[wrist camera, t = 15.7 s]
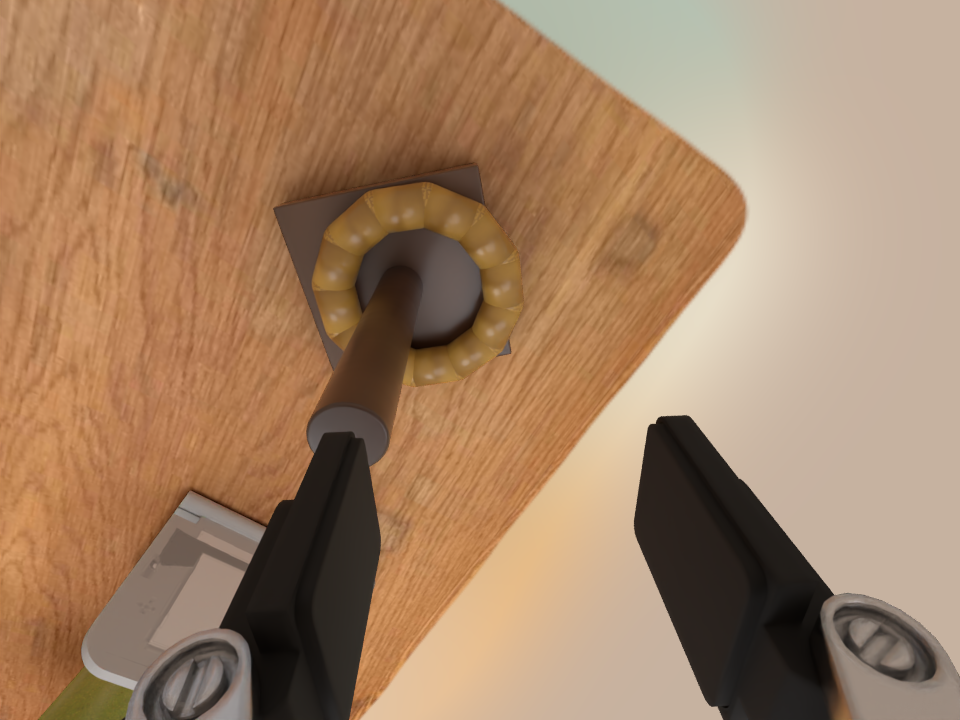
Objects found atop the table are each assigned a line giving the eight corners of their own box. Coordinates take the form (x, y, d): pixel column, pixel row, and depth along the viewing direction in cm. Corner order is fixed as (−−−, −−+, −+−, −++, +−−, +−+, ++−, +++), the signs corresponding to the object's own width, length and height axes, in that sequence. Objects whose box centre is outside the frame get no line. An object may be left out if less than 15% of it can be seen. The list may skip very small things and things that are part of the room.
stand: (476, 162, 22) (498, 213, 9) (509, 342, 25) (553, 540, 13) (283, 202, 22) (67, 300, 10) (344, 373, 26) (244, 592, 14)
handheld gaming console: (132, 572, 32) (4, 748, 23) (192, 486, 29) (72, 650, 20) (307, 646, 36) (257, 820, 27) (376, 577, 33) (344, 747, 24)
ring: (508, 166, 20) (511, 170, 19) (528, 360, 24) (533, 377, 23) (294, 199, 20) (279, 206, 19) (349, 385, 25) (342, 404, 23)
